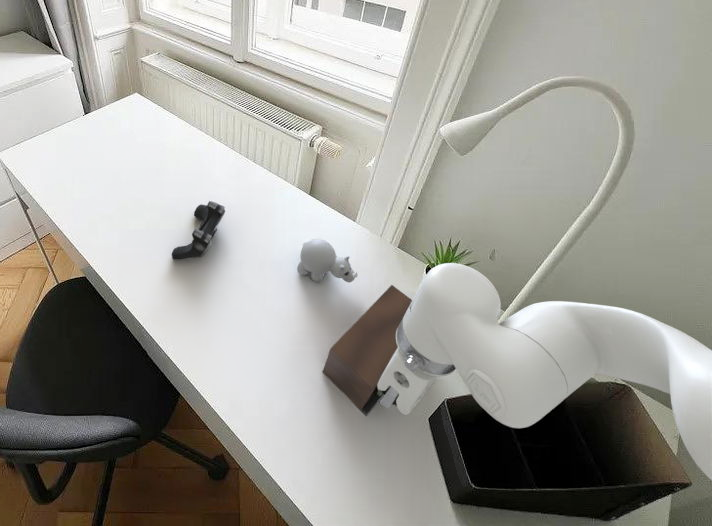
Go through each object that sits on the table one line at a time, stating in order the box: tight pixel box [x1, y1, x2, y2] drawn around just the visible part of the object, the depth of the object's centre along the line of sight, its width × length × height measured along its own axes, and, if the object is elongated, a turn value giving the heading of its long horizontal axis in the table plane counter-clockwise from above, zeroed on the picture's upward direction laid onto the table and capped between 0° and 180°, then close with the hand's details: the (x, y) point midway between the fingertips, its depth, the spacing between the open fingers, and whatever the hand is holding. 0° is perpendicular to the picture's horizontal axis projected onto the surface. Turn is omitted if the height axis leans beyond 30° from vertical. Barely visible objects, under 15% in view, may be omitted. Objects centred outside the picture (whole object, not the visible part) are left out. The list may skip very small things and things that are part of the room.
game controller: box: [171, 200, 226, 261], centre depth 93 cm, size 16×7×10 cm, turn 159°
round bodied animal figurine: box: [296, 238, 358, 283], centre depth 84 cm, size 7×12×8 cm, turn 54°
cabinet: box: [322, 284, 413, 417], centre depth 71 cm, size 9×18×9 cm, turn 130°
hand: (392, 396), depth 63 cm, fingers closed
